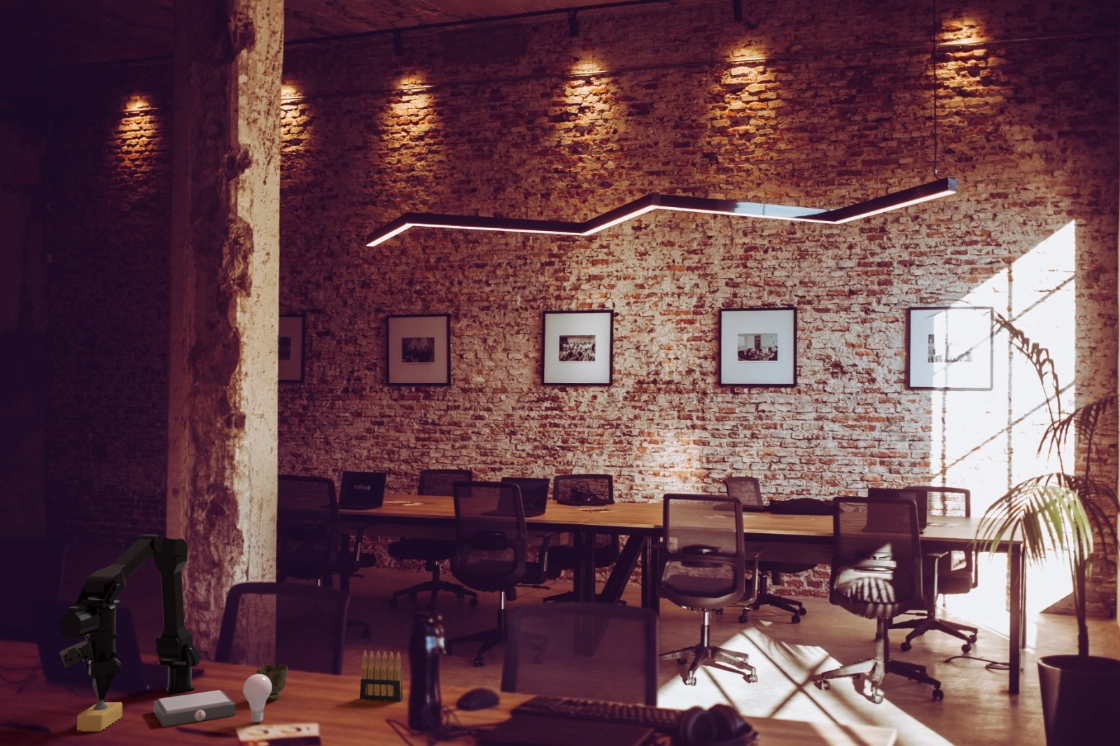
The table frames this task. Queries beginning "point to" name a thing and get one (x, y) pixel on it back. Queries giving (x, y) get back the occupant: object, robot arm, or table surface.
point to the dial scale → (193, 708)
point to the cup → (275, 678)
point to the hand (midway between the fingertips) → (100, 698)
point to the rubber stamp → (99, 715)
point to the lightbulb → (257, 695)
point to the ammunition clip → (381, 678)
